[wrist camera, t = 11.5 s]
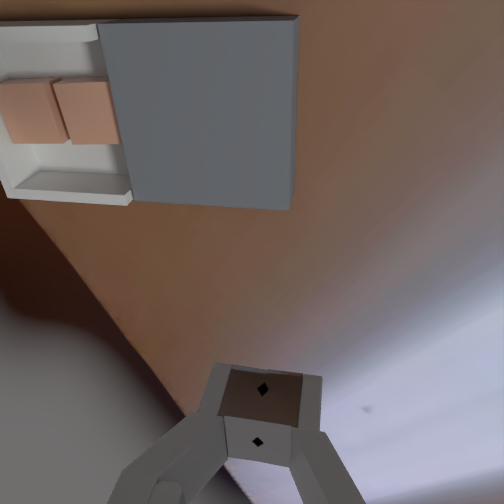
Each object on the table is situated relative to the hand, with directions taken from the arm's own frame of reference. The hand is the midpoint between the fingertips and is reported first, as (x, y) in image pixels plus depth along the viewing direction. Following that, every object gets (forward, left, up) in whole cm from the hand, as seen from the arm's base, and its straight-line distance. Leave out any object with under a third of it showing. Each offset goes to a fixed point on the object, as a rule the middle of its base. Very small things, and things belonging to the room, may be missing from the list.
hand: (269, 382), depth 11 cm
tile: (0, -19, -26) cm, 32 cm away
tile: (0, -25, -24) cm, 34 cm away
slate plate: (0, -9, -27) cm, 29 cm away
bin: (0, -22, -27) cm, 35 cm away
